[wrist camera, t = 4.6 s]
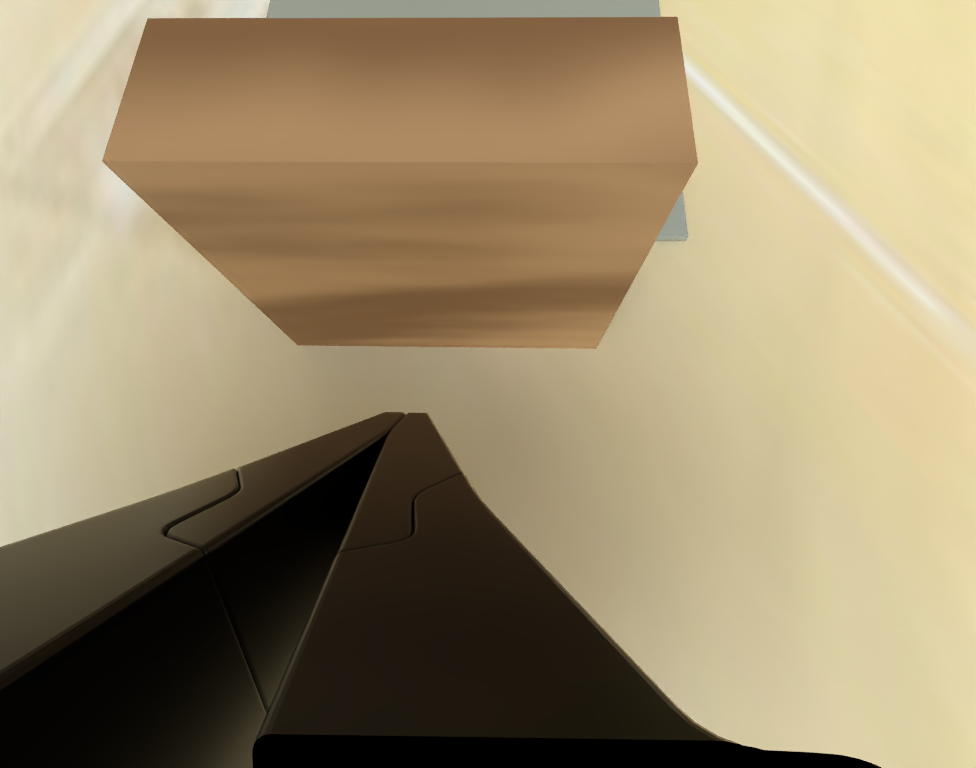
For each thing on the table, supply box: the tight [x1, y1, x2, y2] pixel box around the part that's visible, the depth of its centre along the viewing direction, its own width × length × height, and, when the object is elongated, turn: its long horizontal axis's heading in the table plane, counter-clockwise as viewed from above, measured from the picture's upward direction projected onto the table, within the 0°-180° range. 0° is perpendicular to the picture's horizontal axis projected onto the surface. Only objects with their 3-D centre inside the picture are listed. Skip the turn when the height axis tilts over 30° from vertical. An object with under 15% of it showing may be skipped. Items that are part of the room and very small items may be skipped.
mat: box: [267, 0, 688, 241], centre depth 23 cm, size 16×20×1 cm
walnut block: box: [102, 17, 698, 348], centre depth 15 cm, size 4×12×10 cm, turn 89°
